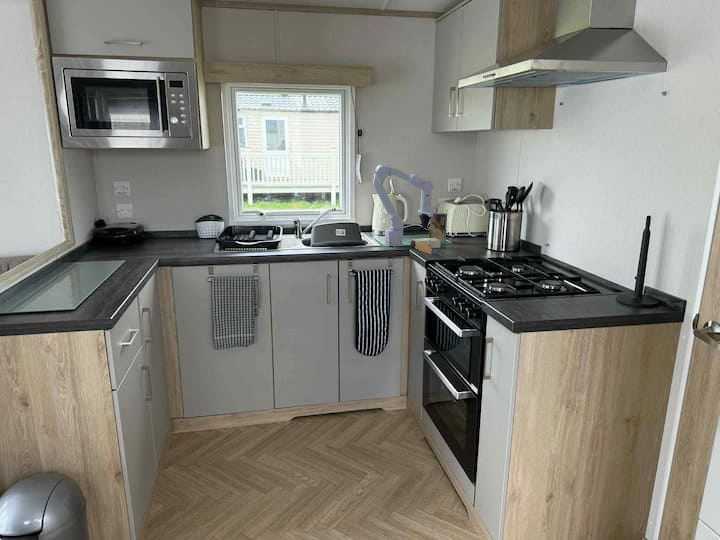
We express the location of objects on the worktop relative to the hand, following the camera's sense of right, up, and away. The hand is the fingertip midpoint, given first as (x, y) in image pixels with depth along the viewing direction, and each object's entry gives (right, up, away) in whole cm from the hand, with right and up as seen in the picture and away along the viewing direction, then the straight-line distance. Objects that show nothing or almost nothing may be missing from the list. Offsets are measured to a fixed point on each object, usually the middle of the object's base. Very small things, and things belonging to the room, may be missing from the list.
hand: (424, 228), depth 278 cm
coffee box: (+9, -7, +13) cm, 17 cm away
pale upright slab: (0, -10, -3) cm, 11 cm away
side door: (-2, -13, -15) cm, 20 cm away
